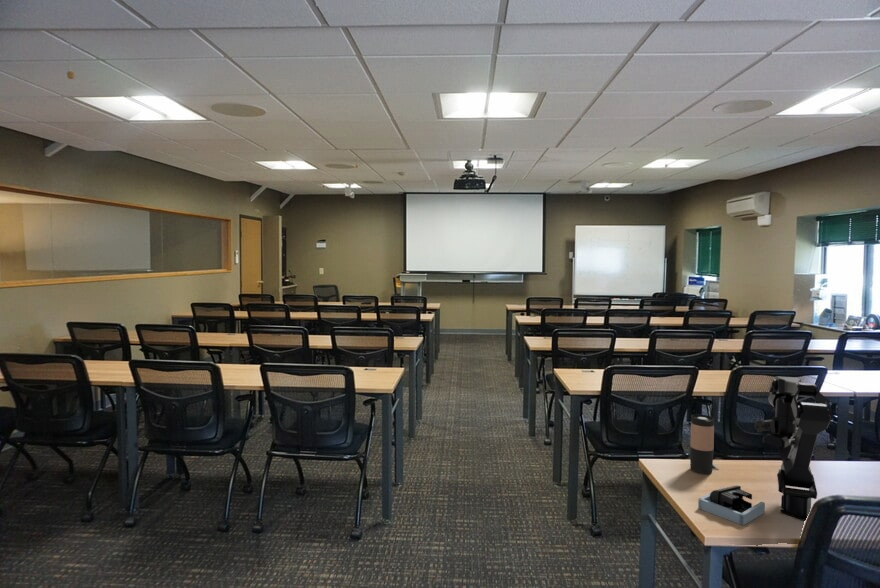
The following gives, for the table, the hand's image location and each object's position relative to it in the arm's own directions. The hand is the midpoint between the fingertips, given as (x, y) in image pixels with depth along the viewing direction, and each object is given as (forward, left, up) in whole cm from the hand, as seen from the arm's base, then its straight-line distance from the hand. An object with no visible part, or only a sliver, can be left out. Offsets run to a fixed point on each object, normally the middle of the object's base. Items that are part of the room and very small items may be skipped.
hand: (784, 461), depth 165 cm
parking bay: (+5, +26, -11) cm, 29 cm away
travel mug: (+26, +2, -11) cm, 28 cm away
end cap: (+5, +26, -11) cm, 29 cm away
